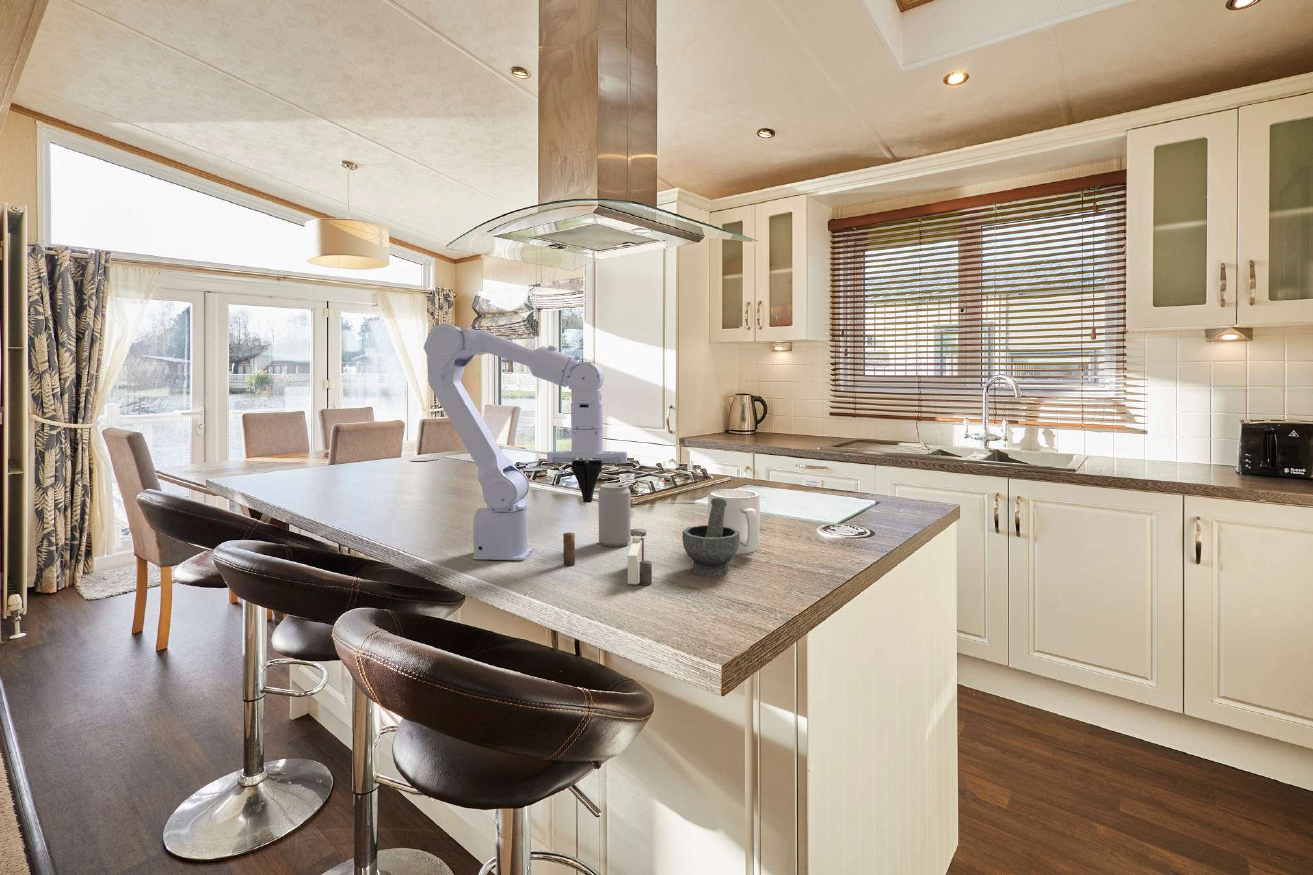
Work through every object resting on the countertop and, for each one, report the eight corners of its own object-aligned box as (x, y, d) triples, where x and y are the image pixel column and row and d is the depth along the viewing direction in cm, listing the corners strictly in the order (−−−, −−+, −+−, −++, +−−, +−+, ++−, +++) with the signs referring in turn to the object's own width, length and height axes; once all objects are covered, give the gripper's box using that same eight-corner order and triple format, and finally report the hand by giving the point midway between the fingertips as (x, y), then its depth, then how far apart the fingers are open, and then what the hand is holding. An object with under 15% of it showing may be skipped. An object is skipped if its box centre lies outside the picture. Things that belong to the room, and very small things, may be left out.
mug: (778, 555, 120) (780, 499, 119) (731, 560, 116) (732, 503, 115) (742, 538, 133) (743, 487, 132) (698, 542, 129) (699, 491, 128)
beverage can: (626, 548, 124) (626, 488, 123) (594, 546, 125) (594, 486, 124) (633, 540, 130) (633, 482, 129) (603, 538, 132) (603, 481, 130)
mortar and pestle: (729, 582, 104) (730, 510, 103) (675, 575, 108) (676, 505, 107) (745, 563, 115) (746, 497, 114) (695, 557, 118) (696, 494, 117)
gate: (631, 561, 114) (631, 528, 114) (646, 561, 114) (646, 528, 114) (623, 583, 102) (623, 546, 102) (641, 584, 102) (641, 547, 101)
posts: (550, 582, 103) (550, 549, 103) (564, 562, 115) (564, 532, 114) (651, 585, 102) (651, 552, 102) (655, 564, 114) (655, 534, 113)
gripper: (628, 426, 120) (629, 497, 121) (552, 426, 121) (553, 497, 122) (624, 429, 113) (625, 505, 114) (543, 429, 114) (545, 504, 115)
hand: (587, 501), depth 118 cm, fingers closed
